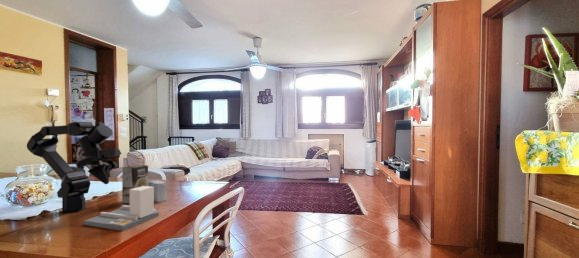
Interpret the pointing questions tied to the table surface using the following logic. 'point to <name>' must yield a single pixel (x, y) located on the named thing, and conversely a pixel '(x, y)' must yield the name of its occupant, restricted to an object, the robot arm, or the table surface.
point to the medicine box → (159, 190)
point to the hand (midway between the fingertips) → (107, 183)
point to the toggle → (141, 201)
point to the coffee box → (133, 180)
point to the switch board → (119, 219)
